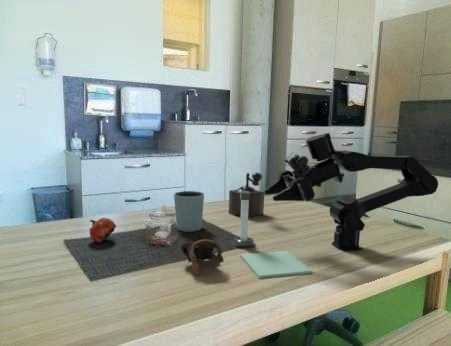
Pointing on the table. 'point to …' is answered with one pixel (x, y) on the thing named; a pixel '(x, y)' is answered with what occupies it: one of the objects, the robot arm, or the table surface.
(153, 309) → the table surface
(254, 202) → the pepper mill
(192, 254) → the pottery mug
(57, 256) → the table surface
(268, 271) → the rest mat
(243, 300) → the table surface
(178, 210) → the green cup
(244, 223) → the square pillar on disc
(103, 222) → the red ribbed fruit
